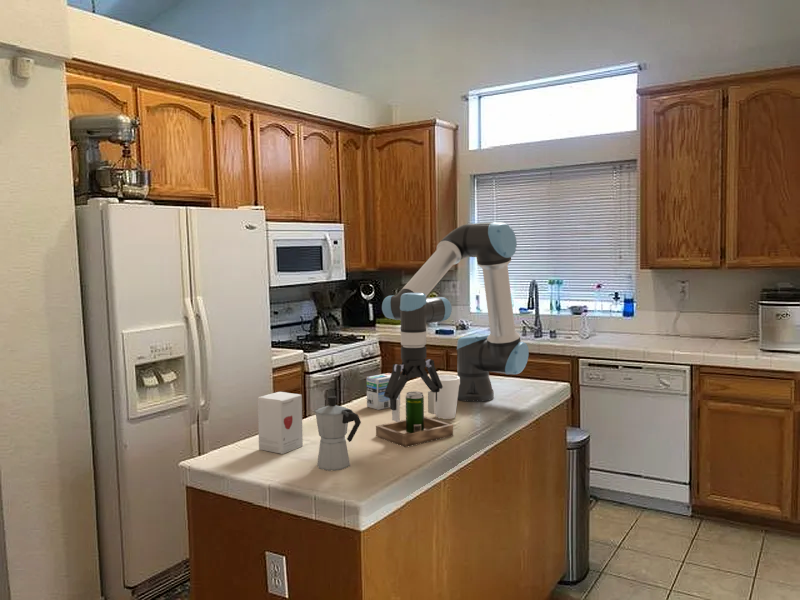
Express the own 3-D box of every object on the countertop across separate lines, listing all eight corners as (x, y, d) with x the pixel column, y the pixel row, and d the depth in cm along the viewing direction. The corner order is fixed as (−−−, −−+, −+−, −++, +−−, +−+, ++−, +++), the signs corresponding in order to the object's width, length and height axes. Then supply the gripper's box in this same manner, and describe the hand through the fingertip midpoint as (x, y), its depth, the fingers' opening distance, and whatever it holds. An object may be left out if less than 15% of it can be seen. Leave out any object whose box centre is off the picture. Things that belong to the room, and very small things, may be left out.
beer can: (427, 434, 194) (427, 394, 193) (411, 436, 191) (410, 396, 191) (418, 429, 199) (418, 390, 198) (402, 432, 196) (402, 392, 195)
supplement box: (282, 454, 179) (280, 400, 178) (258, 449, 184) (256, 397, 182) (304, 446, 186) (302, 394, 185) (280, 441, 191) (278, 390, 190)
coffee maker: (303, 466, 169) (301, 397, 168) (324, 456, 177) (323, 390, 175) (350, 475, 162) (349, 403, 160) (370, 465, 169) (369, 396, 168)
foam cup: (458, 420, 211) (457, 380, 210) (429, 419, 213) (429, 379, 212) (461, 413, 221) (461, 375, 220) (433, 412, 223) (433, 374, 222)
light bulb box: (378, 410, 226) (378, 379, 226) (366, 407, 231) (365, 376, 231) (401, 405, 234) (401, 375, 233) (388, 401, 239) (388, 372, 238)
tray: (422, 425, 206) (422, 415, 206) (453, 435, 195) (452, 425, 195) (376, 436, 195) (375, 425, 195) (405, 447, 184) (405, 436, 184)
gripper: (437, 340, 203) (438, 407, 205) (371, 348, 188) (372, 421, 190) (453, 342, 197) (454, 412, 199) (386, 351, 182) (387, 426, 184)
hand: (414, 417), depth 195 cm, fingers open, 13 cm apart
